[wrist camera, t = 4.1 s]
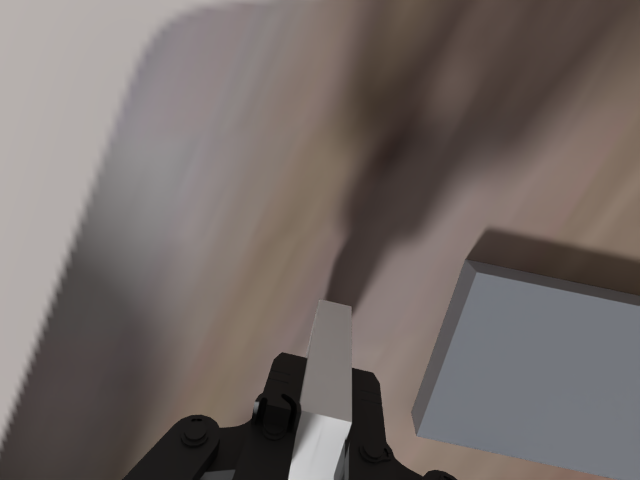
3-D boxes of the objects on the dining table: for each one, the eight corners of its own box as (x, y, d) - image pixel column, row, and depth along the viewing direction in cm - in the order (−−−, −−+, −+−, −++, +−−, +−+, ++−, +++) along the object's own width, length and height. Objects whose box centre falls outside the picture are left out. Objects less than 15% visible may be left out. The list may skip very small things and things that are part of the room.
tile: (409, 405, 19) (416, 436, 17) (462, 255, 16) (476, 272, 15) (662, 460, 19) (697, 496, 17) (760, 317, 16) (814, 342, 14)
